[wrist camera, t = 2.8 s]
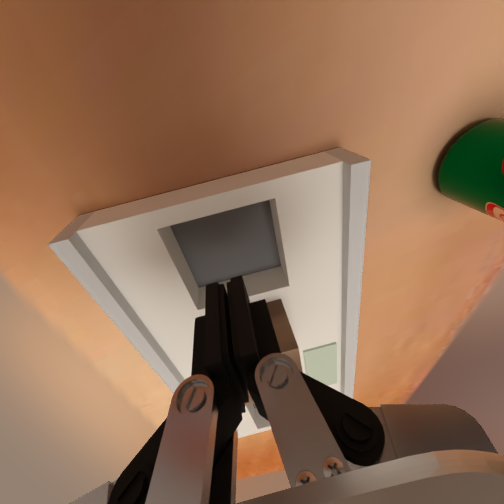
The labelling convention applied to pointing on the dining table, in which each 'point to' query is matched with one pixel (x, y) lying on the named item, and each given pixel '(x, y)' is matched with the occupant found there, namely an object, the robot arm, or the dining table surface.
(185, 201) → the box
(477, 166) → the soda can
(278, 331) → the walnut block
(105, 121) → the dining table surface
